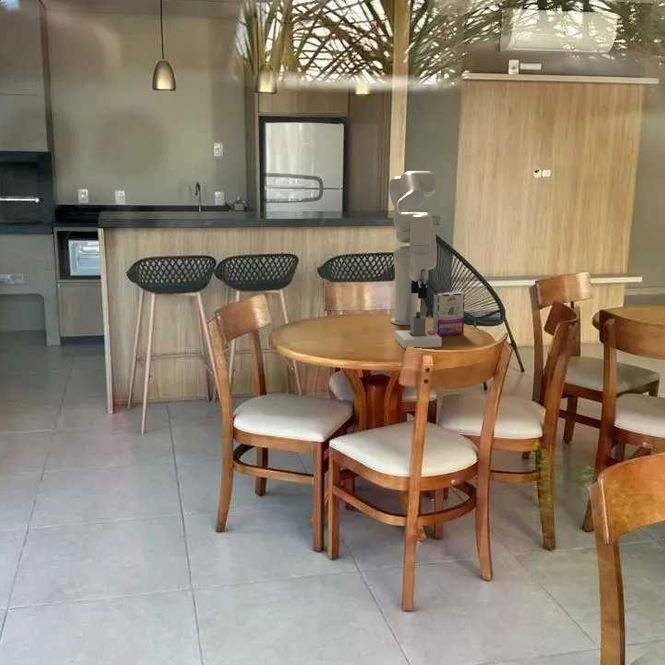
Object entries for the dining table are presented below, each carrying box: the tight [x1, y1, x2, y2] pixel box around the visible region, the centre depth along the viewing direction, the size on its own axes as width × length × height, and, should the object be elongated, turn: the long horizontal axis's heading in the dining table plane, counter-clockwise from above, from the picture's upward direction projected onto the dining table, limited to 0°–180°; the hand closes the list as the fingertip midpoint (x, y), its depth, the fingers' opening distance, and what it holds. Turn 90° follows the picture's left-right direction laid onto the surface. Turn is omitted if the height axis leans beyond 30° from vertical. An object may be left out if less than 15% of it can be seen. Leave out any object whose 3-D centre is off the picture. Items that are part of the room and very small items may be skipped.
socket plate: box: [394, 328, 443, 349], centre depth 284 cm, size 14×14×4 cm
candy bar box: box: [432, 291, 465, 337], centre depth 295 cm, size 11×5×16 cm, turn 106°
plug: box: [410, 311, 427, 336], centre depth 283 cm, size 4×4×11 cm
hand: (418, 295), depth 281 cm, fingers open, 9 cm apart
